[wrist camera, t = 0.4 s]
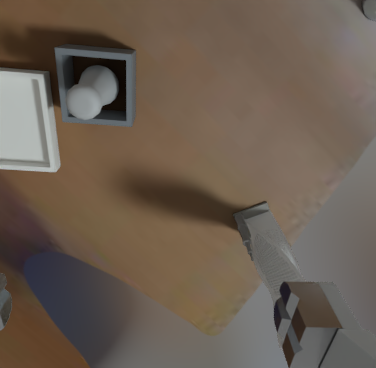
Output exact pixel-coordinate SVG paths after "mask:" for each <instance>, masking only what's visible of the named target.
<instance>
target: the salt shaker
mask: <svg viewBox="0 0 376 368" xmlns="http://www.w3.org/2000/svg"><path fill="white" fill-rule="evenodd" d="M118 92H119V81H118V79H117V77H116V76H115V74H114V73H113V72H112V71H111V70H110V69H108V68H107V67H104V66H100V65H95V66H91V67H88V68H87V69H86V70H85V71H84V72H82V75H81V77H80V80H79V83H78V84H77V85H74V86H73V87H72V88H71V89H70V90H68V92H67V95H66V98H65V102H66V107H67V109H68V110H69V112H70V113H71V114H72V115H73V116H75V117H76V118H78V119H82V120H88V119H92V118H94V117H95V116H96V115H98V114H99V113H100V111H101V108H102V106H104V105H107V104H110V103H111V102H112V101H114V100H115V99H116V97H117V95H118Z"/></svg>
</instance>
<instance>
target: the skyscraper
mask: <svg viewBox="0 0 376 368" xmlns="http://www.w3.org/2000/svg"><path fill="white" fill-rule="evenodd" d="M233 216H234V218H235V221H236V223H237V225H238V230H239V231H240V233H241V236H242V240H243V245H245V246H246V247H247V250H248V254H249V255H250V256H251V260H252V261H254V264H255V266H256V269H257V271H258V273H259V275H260V277H261V279H262V281H263V282H264V283H265V285H266V286H267V288H268V289H269V292H270V294H271V297H272V299H273V305H274V306H275V302H276V300H277V299H279V298H280V297H281V294H280V291H279V289H280V286H281V284H282V283H283V282H284V281H291V282H306V281H305V280H304V278H303V277H302V274H301V271H300V268H299V265H298V263H297V261H296V258H295V256H294V253H293V252H292V249H291V247H290V245H289V243H288V241H287V239H286V237H285V235H284V234H283V232H282V230H281V228H280V226H279V225H278V223H277V221H276V220H275V218H274V216H273V214H272V213H271V211H270V209H269V207H268V204H267V202H264V203H261V204H259V205H256V206H253V207H251V208H248V209H245V210H243V211H240V212H237V213H235V214H233ZM250 238H251V239H250ZM250 245H251V247H250ZM252 256H253V257H252ZM277 336H278V342H279V347H280V348H281V350H282V351H283V349H282V345H283V342H284V339H283V338H282V337H281V336H280V335H279V334H278V333H277Z"/></svg>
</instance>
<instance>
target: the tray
mask: <svg viewBox="0 0 376 368" xmlns="http://www.w3.org/2000/svg"><path fill="white" fill-rule="evenodd" d="M60 166H61V165H60V157H59V149H58V141H57V133H56V124H55V116H54V108H53V100H52V92H51V83H50V75H49V71H39V70H26V69H14V68H2V67H0V169H10V170H27V171H44V172H56V171H57V170H58V169H59V167H60Z"/></svg>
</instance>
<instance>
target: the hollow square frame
mask: <svg viewBox="0 0 376 368" xmlns="http://www.w3.org/2000/svg"><path fill="white" fill-rule="evenodd" d="M72 56H84V57H95V58H107V59H118V60H126V111H115V110H102V109H101V111H100V113H99V114H98V115H96V116H95V117H94V118H92V119H88V120H82V119H78V118H76V117H75V116H73V115H72V114H71V113H70V112H69V110H68V109H67V107H66V102H65V98H66V95H67V92H68V90H70V89H71V88H72V87H73V86H74V85H75V80H74V69H73V57H72ZM55 57H56V66H57V75H58V84H59V93H60V102H61V111H62V120H63V122H72V123H86V124H100V125H114V126H129V127H132V125H133V122H134V119H135V112H136V50H129V49H117V48H106V47H95V46H84V45H73V44H64V45H61V46H58V47H55Z"/></svg>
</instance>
